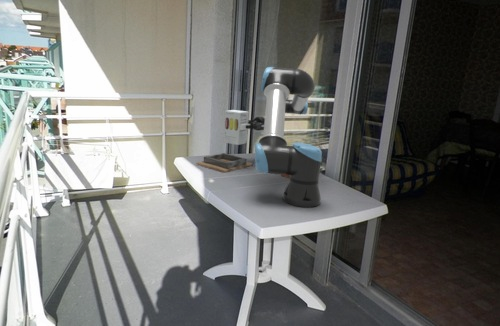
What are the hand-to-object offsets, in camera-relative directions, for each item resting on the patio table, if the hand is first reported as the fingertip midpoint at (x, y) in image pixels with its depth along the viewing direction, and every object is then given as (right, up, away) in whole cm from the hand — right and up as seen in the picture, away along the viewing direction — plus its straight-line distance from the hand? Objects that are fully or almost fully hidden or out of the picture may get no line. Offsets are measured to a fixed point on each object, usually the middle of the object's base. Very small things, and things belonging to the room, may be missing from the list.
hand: (232, 125), depth 179 cm
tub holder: (-5, -21, +9) cm, 23 cm away
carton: (+34, -27, -4) cm, 44 cm away
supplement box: (+1, -9, +4) cm, 10 cm away
